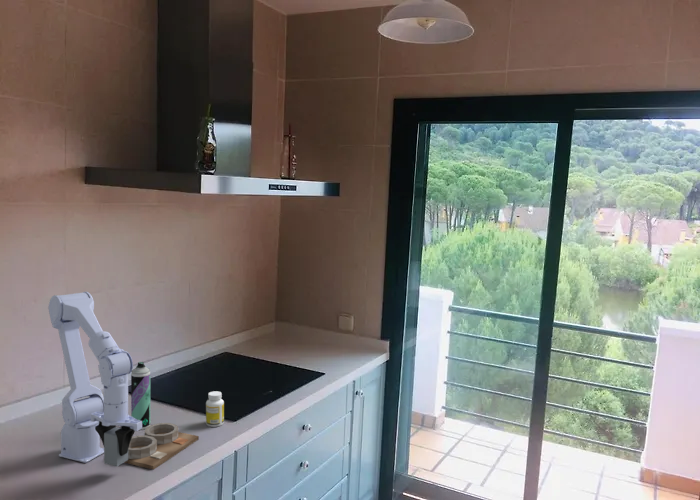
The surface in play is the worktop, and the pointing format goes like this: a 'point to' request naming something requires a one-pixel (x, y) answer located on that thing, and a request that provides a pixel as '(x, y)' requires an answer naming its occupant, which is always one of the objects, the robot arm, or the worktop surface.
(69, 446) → the robot arm
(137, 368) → the spray can
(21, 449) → the worktop surface
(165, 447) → the socket board
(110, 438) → the plug
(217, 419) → the supplement bottle
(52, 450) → the worktop surface
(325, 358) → the worktop surface
